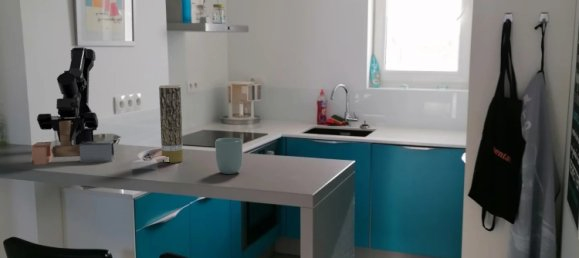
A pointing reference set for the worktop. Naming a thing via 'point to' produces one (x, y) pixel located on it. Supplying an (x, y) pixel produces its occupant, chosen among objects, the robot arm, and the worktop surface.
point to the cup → (229, 155)
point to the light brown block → (41, 153)
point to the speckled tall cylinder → (171, 122)
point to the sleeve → (96, 151)
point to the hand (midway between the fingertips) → (65, 141)
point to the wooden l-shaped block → (65, 142)
